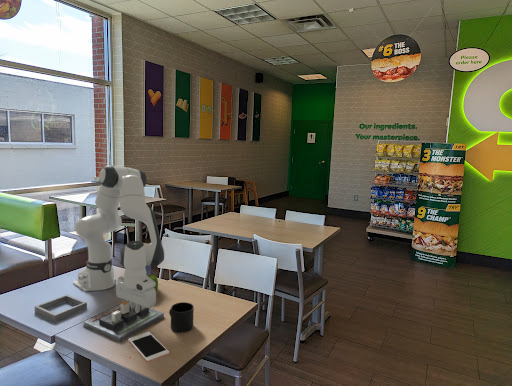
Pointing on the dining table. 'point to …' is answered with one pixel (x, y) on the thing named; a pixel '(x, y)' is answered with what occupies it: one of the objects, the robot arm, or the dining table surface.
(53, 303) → the deck corral
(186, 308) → the mug
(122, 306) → the block
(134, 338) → the cell phone
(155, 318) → the panel
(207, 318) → the dining table surface
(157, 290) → the apple
